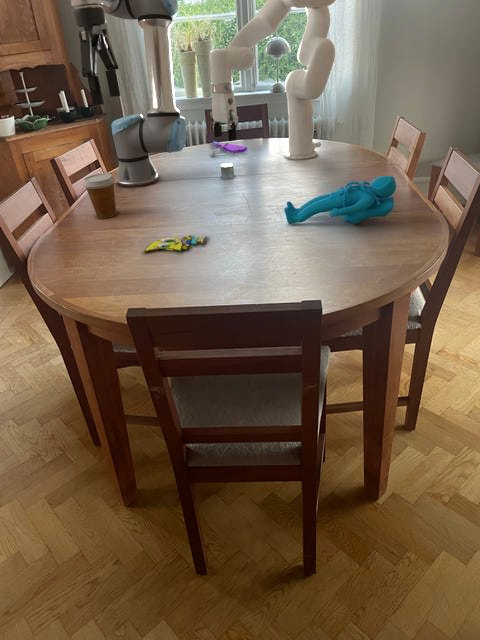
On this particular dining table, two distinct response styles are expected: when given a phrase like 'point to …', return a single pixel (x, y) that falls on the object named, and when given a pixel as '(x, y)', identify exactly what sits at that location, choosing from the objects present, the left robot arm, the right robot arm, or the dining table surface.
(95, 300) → the dining table surface
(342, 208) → the toy
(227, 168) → the canister
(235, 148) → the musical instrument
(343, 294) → the dining table surface
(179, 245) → the toy
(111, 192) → the disposable coffee cup
